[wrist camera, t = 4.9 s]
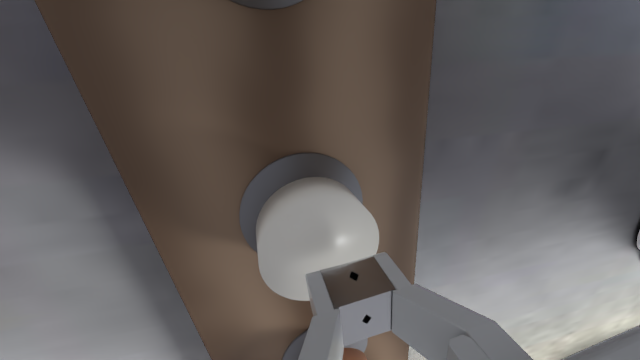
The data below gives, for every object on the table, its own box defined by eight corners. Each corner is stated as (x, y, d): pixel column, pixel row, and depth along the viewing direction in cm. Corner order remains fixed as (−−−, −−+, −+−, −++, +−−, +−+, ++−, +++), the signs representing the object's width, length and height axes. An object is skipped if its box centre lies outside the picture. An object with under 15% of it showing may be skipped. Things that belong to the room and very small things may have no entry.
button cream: (357, 166, 11) (379, 184, 9) (361, 252, 13) (379, 280, 11) (243, 191, 10) (244, 216, 8) (267, 280, 12) (271, 315, 10)
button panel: (405, -326, 9) (482, -512, 6) (389, 339, 25) (408, 373, 22) (-112, -452, 6) (-435, -930, 3) (248, 393, 22) (249, 440, 19)
